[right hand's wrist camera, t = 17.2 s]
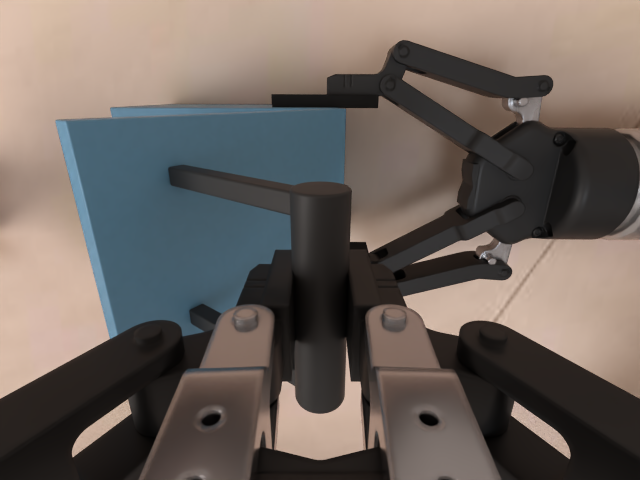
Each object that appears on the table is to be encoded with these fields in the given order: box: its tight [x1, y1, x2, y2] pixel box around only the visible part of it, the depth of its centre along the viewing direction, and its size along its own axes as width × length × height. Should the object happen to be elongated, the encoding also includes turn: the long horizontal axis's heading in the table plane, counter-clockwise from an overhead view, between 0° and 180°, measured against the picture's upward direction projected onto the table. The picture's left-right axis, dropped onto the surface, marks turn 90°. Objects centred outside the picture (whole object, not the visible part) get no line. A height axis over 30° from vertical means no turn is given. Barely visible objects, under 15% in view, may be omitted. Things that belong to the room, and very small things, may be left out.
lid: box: [56, 108, 352, 414], centre depth 15 cm, size 14×10×8 cm
